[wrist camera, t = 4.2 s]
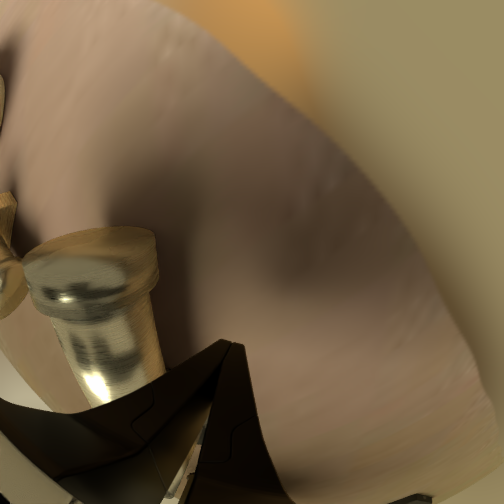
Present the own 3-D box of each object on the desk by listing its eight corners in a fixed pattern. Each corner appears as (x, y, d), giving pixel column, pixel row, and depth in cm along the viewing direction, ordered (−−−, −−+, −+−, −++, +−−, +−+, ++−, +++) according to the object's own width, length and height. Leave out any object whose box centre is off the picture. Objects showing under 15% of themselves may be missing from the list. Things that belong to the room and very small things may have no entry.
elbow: (209, 440, 15) (180, 511, 10) (144, 420, 16) (107, 480, 10) (179, 228, 11) (59, 303, 5) (86, 225, 12) (-19, 272, 6)
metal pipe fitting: (252, 420, 14) (229, 501, 9) (190, 446, 17) (164, 502, 12) (11, 185, 13) (-54, 204, 7) (0, 259, 16) (-47, 285, 10)
